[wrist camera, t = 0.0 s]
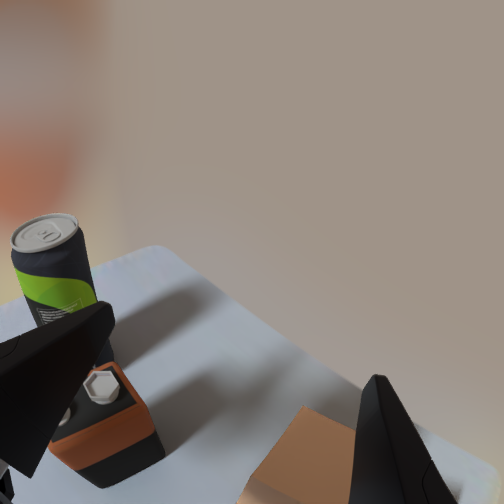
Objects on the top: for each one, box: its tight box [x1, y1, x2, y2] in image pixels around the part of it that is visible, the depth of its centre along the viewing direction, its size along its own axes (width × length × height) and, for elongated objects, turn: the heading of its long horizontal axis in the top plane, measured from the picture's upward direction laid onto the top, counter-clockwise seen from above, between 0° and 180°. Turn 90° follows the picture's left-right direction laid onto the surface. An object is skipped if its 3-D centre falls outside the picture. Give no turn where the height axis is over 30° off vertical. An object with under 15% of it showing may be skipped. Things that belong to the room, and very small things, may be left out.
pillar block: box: [236, 406, 356, 504], centre depth 13 cm, size 5×5×10 cm
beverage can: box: [10, 213, 114, 370], centre depth 20 cm, size 6×6×15 cm
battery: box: [48, 362, 165, 489], centre depth 14 cm, size 4×7×10 cm, turn 135°
